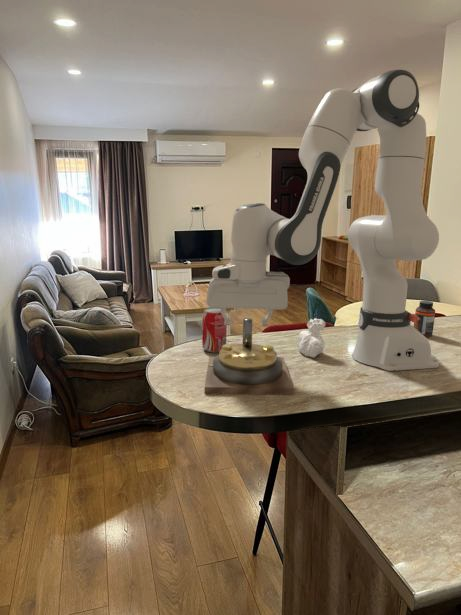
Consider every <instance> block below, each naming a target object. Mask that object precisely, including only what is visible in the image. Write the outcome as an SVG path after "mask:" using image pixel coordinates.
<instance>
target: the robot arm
mask: <svg viewBox="0 0 461 615" xmlns="http://www.w3.org/2000/svg"><path fill="white" fill-rule="evenodd" d="M419 89H420V88H419V84H418V82H417V79H416V77H415V76H414V75H413V74H412V72H410V71H408V70H404V69H392V70H388V71H386V72H383V73H382V74H380V75H378V76H375V77H373V78H371V79H369V80H367V81H366V82H365V83H364V84H361V86H359V87H357V88H355V89H354V90H352V91H351V90H349V89H348V88H347V89H346V88H343V87H338V88H333V89H331V90H329V91H327V92H326V94H325V95H324V96H323V97H322V99H321V101H320V102H319V104H318V106H317V107H316V109H315V110H314V112H313V114H312V117H311V118H310V120H309V123H308V125H307V127H306V129H305V131H304V133H303V136H302V139H301V142H300V145H299V150H298V158H299V161H300V164H301V165H302V167H303V168H304V169H305V170H306V173H307V180H306V184H305V187H304V189H303V192H302V194H301V195H302V196H301V198H300V201H299V203H298V206H297V208H296V211H295V213H294V215H293V216H292V217H291V218H287V217H285V216H283V215H281V214H279V213H277V212H276V211H274V210H272V209H271V208H270V207H268V206H267V205H266V204H265V203H261V202H260V203H259V202H258V203H250V204H243V205H240V206H238V207H237V208H236V210H234V214H233V218H232V222H231V233H230V234H231V235H230V240H231V245H232V250H231V255H230V262H229V263H225V264H222V265H218V266H215V267H213V269H212V273H211V276H212V278H211V280H210V281H209V283H208V287H207V288H208V289H207V294H206V305H207V306H208V308H221V314H222V316H223V317H224V319H225V325H227V326H231V316H227V313H226V312H227V309H248V310H249V309H251V310H266V312H267V314H266V316H265V317H262V318H261V326H262V327H268V326H269V320H270V318H271V317H272V316H273V314H274V313H273V312H274V310H282V311H284V310H285V309H287V308H288V307H289V306H288V305H289V301H288V300H289V298H288V290H289V287H290V285H291V282H290V281H291V278H290V277H289V275H288V274H286V273H285V272H283V271H267V259H268V258H267V257H268V256H275V257H276V258H278V259H281V260H283V261H285V262H286V263H288V264H290V265H294V266H301V265H305V264H307V263H309V262H310V261H312V260H313V259H314V258H315V257H316V255H317V254H318V252H319V250H320V247H321V244H322V243H321V242H322V241H321V240H322V228H323V223H324V219H325V216H326V214H327V211H328V209H329V207H330V203H331V200H332V197H333V194H334V192H335V188H336V185H337V182H338V180H339V175H340V173H341V167H342V164H343V161H344V159H345V157H346V154H347V152H348V149H349V148H350V146H351V142H352V139H353V137H354V135H355V133H356V132H368V131H370V130H371V131H372V130H375V129H376V130H377V132H378V135H379V141H380V142H379V150H378V157H377V162H376V163H377V164H376V172H375V180H374V191H375V194H376V195H377V196H378V197H379V198H381V199H382V202H383V203H384V206H385V211H386V212H385V214H384V215H379V214H371V215H366V216H362V217H359V218H356V219H355V220H354V221H353V222H352V223H351V225H350V226H349V229H348V232H347V241H348V243H349V245H350V246H349V247H351V248H352V250H353V251H354V252H355V254H356V255H357V257H358V258H357V259H358V260H359V264H360V268H361V271H362V278H363V287H362V289H363V292H362V304H361V307H360V309H359V310H360V311H359V315H358V316H359V317H358V327H359V330H358V335H357V338H356V339H357V340H356V343H355V346H354V349H353V351H352V353H351V357H352V358H353V360H355V361H357V362H359V363H361V364H364V365H368V366H372V367H376V368H378V369H382V370H385V371H387V372H388V371H390V372H392V371H394V370H395V371H407V370H422V369H437V368H439V367H440V361H439V359H438V358H437V357H436V356H435V355H434V354H432V348H431V343H430V341H429V339H428V337H425V336H424V335H422V334H421V333H420V332H419V331H418V330H417V329H415V328H414V325H412V324H411V323H413V324H414V323H415V322H417V321H418V320H417V319H418V318H419V317H417V315H415V313H411V312H409V311H408V310H406V306H407V296H408V295H407V294H408V287H409V286H408V281H407V279H406V277H404V275H402V273H401V272H400V270H399V269H398V266H397V263H396V260H397V261H404V262H405V261H406V262H412V261H413V262H414V261H422V260H426V259H428V258H430V257H431V256H432V255H433V254H434V253H435V251H436V249H437V248H438V246H439V245H438V244H439V240H440V239H439V238H440V234H439V230H438V228H437V225H436V224H435V223H434V222H433V221H432V220H431V219H430V217H429V216H428V214H427V212H426V210H425V207H424V202H423V199H422V198H423V197H422V184H423V183H422V182H423V174H424V168H425V167H424V166H425V159H426V151H427V123H426V120H425V118H424V116H422V115H421V114H419V109H420V90H419Z"/></svg>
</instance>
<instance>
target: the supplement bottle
mask: <svg viewBox="0 0 461 615" xmlns="http://www.w3.org/2000/svg"><path fill="white" fill-rule="evenodd" d="M433 307H434V302H433V301H429V300H420V301H419V306H417V307H416V308H415V313H414V314H415V315H417V317H419V318H418V319H417V320H418V321H417V322H415V323H414V322H413V327H414V328H415V329H417V330H418V331H419V332H420V333H421V334H422V335H424V336H425V337H426V338H431V337H432V336H433V334H434V325H435V316H436V310H435V308H433Z"/></svg>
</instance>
